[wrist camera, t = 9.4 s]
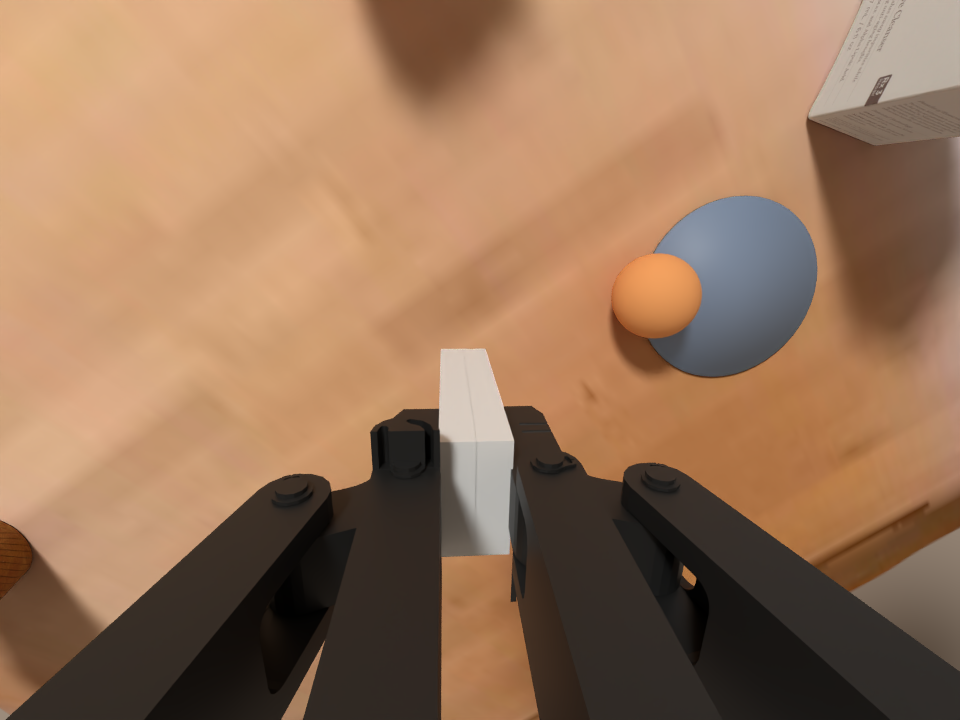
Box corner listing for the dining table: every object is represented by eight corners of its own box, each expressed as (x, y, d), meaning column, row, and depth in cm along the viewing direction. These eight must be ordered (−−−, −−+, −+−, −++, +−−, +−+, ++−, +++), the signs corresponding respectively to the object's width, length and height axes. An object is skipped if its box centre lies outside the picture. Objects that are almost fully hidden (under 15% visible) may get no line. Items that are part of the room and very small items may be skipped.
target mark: (792, 374, 35) (794, 375, 35) (630, 376, 34) (631, 377, 34) (835, 197, 31) (837, 197, 31) (652, 194, 30) (653, 194, 30)
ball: (710, 348, 28) (630, 349, 27) (662, 326, 33) (592, 326, 32) (731, 260, 26) (646, 257, 25) (676, 250, 32) (603, 247, 30)
